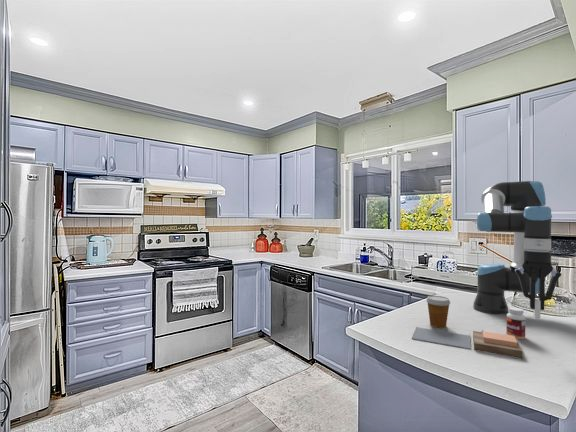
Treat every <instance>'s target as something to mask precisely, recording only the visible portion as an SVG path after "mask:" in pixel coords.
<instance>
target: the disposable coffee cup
mask: <svg viewBox="0 0 576 432" xmlns="http://www.w3.org/2000/svg"><path fill="white" fill-rule="evenodd" d="M426 298H427V299H426V303H427V309H428V317H429V325H430V326H432V327H434V328H440V329H444V328H446V327H447V323H448V316H449V309H450V304H451V301H450V298H448V297H446V296H441V295H428V296H427V297H426Z"/></svg>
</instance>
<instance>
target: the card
mask: <svg viewBox="0 0 576 432" xmlns="http://www.w3.org/2000/svg"><path fill="white" fill-rule="evenodd" d="M481 332H482V336H483V341H484V342H491V343H497V344H503V345H509V346H515V347H517V341H516V339H515V336H512V335H507V334H504V333H498V332H491V331H484V330H482V331H481Z"/></svg>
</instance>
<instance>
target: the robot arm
mask: <svg viewBox="0 0 576 432" xmlns="http://www.w3.org/2000/svg"><path fill="white" fill-rule="evenodd" d="M480 199H481V201H480V202H481V204H482V206H483V209H482V210H483V212H478V214H477V215H476V222H477V223H476V227H477V228H476V229H477V230H478V231H479V232H486V233H492V232H494V233H495V232H496V233H513V234H514V235H513V261H512V262H510V264H509V267H506V266H505V264H503V263H485V264H481V265H479V266H478V267H477V274H476V275H477V285H476V286H477V290H476V291H477V292H476V293H477V294H476V296H475V298H474V301H473V305H472V306H473V309H475V310H476V311H479V312H482V313H487V314H493V315H507V314H508V313H509V306H508V304H507V303H508V302H507V300H506V298H505V292H512V293H522V294H523V296H524V298H527V299H529V307H530V309H531V310H533V319H534V320H537V321H541V311H545V302H546V301H550V300H552V298H553V295H554V292H555V289H556V285H557V282H558V280H559V279H560V277H562V273H561V272H559V271H556V270H555V269H554V267H553V266H552V252H550V251H552V218H553V216H552V208H551V207H550V206H547V205H546V202H547V201H546V200H547V199H546V194H545V187H544V185H543V183H542V182H541V181H539V180H533V181H532V180H525V181H504V182H503V181H501V182H498V183H495V184H492V185H491V186H489V187H488V188H486V189H485V190H483V192H482V194H481V198H480ZM504 207H510V211H511V212H505V211H504V210H505V208H504ZM549 275H551V277H550V280H549V283H548V286H547V289H546V288H545V287H546V285H545V283H546V278H547V277H548V276H549ZM537 294H538V298H536V295H537Z"/></svg>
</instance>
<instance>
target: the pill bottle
mask: <svg viewBox="0 0 576 432" xmlns="http://www.w3.org/2000/svg"><path fill="white" fill-rule="evenodd" d="M526 321H527V320H526V316H525V315H524V310H523V308H520V307H508V313H506V328H505V329H506V331H505V333H506V334H505V335H512V336H515V337H516V338H517V340H523V339H525V338H526Z"/></svg>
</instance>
